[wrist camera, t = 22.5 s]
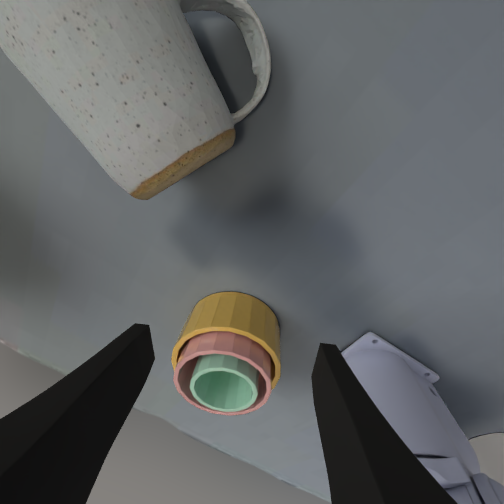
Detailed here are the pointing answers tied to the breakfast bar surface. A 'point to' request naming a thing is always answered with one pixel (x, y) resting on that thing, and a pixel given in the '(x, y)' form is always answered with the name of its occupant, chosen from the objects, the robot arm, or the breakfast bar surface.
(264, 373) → the stack top
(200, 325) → the stack bottom
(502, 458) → the base with upright slab
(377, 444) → the robot arm
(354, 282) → the breakfast bar surface
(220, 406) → the mint cup
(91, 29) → the ceramic mug
